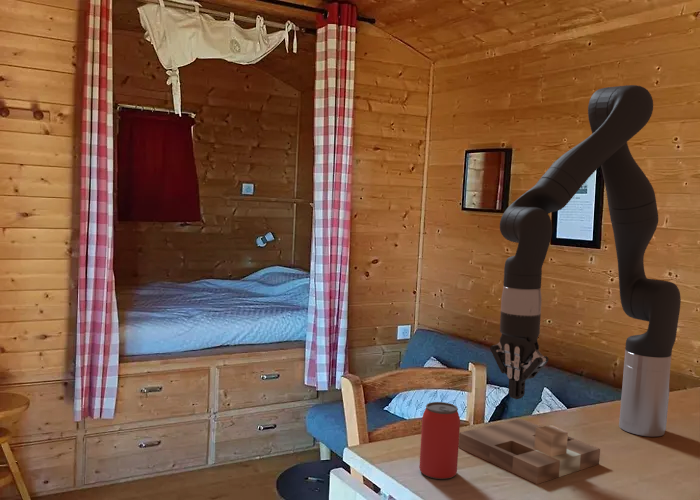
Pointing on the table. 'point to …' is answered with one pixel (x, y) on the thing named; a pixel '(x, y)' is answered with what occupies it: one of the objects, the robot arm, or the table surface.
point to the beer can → (439, 440)
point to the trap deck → (526, 451)
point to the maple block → (551, 440)
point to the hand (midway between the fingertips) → (515, 397)
